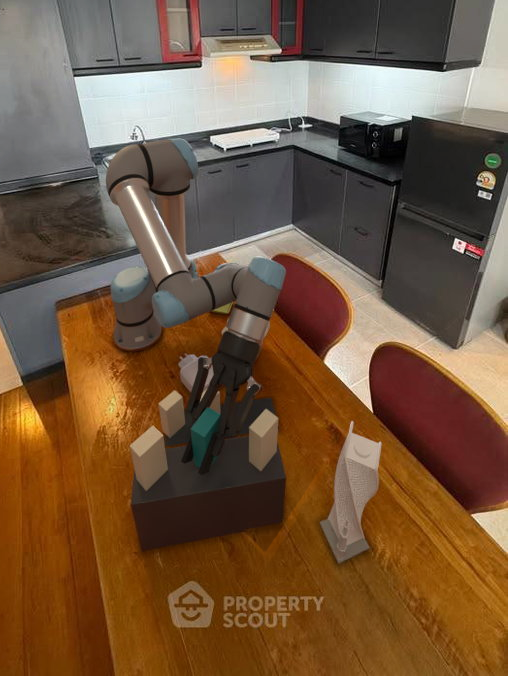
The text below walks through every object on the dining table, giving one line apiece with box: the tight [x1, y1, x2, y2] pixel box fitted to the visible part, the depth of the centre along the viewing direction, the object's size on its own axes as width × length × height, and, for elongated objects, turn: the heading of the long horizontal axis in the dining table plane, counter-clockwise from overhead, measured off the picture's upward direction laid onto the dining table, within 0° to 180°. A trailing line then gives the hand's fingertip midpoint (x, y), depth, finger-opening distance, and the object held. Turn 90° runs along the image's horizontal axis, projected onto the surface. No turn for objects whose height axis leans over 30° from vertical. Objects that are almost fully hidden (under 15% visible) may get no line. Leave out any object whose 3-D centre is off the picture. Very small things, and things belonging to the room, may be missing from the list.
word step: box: [129, 409, 287, 552], centre depth 74 cm, size 9×28×26 cm, turn 99°
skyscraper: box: [319, 420, 383, 565], centre depth 70 cm, size 8×8×28 cm
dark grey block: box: [158, 389, 280, 447], centre depth 95 cm, size 9×29×11 cm, turn 99°
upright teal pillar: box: [191, 407, 223, 468], centre depth 69 cm, size 3×5×10 cm, turn 149°
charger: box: [177, 352, 214, 393], centre depth 109 cm, size 5×9×15 cm
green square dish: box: [208, 302, 234, 315], centre depth 136 cm, size 9×9×2 cm
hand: (194, 466), depth 67 cm, fingers closed on upright teal pillar, 3 cm apart
